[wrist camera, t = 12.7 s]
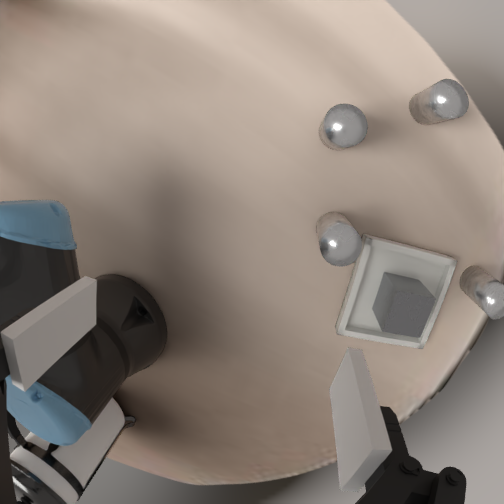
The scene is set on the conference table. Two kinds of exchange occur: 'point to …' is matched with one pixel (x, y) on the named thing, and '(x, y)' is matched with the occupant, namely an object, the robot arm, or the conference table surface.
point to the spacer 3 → (439, 102)
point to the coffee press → (63, 459)
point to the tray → (369, 278)
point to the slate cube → (402, 305)
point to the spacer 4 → (484, 291)
